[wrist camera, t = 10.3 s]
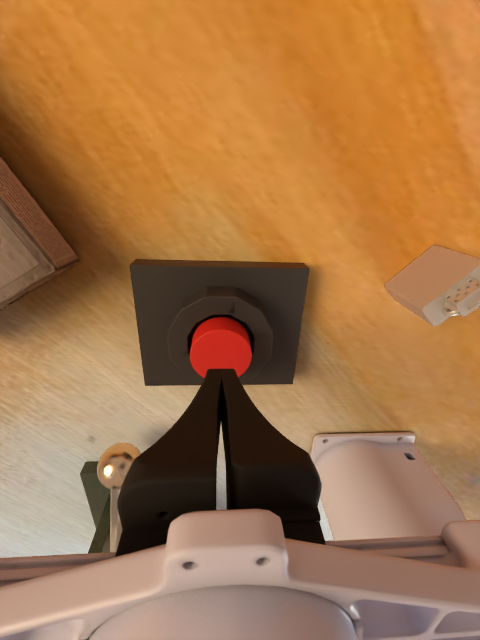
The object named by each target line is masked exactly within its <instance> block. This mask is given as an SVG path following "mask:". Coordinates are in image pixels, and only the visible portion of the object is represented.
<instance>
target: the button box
mask: <svg viewBox="0 0 480 640" xmlns="http://www.w3.org/2000/svg"><path fill="white" fill-rule="evenodd" d="M130 271H131V279H132V287H133V295H134V303H135V310H136V318H137V326H138V334H139V342H140V350H141V358H142V365H143V373H144V381H145V386H159V385H202V383H203V381H204V377H202V376H201V375H199V374H198V373H197V372H196V371H195V369H194V368H193V366H192V364H191V361H190V351H191V345H192V339H193V335H194V332H195V330H196V329H197V328H198V326H199V325H200V324H202V323H203V322H204V321H206V320H208V319H211V318H215V317H227V318H231V319H234V320H236V321H237V322H239V323H240V324H241V325H242V326H243V327H244V328H245V329H246V331H247V333H248V336H249V341H250V346H251V352H252V359H251V363H250V365H249V367H248V368H247V370H246V371H245V372H244V373H243V374H242V375H241V376H239V377H238V378H239V380H240V382H241V384H242V385H261V384H293V379H294V372H295V365H296V358H297V351H298V344H299V337H300V330H301V323H302V316H303V309H304V302H305V295H306V288H307V281H308V274H309V268H308V267H307V266H306V265H305V264H304V263H279V262H233V261H186V260H140V259H136V260H135V261H134V262H133V263H131V264H130Z"/></svg>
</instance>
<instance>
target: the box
mask: <svg viewBox="0 0 480 640" xmlns="http://www.w3.org/2000/svg"><path fill="white" fill-rule="evenodd" d="M78 262H79V259H78V258H77V255H76V254H75V253H74V251H73V250H72V248H71V247H70V246H69V245H68V243H67V242H66V241H65V239H63V237H62V235H61V234H60V233H59V231H58V229H56V227H55V226H53V224H52V222H51V221H50V220H49V218H48V217H47V216H46V214H45V213H44V212H43V211H42V210H41V208H40V207H39V205H38V203H36V200H35V199H34V198H33V197H31V195H30V194H29V192H28V191H27V189H26V188H25V187H24V186H23V185H22V183H21V182H20V181H19V180H18V178H17V177H16V176H15V175H14V174H13V172H11V170H10V168H9V167H8V165H7V163H6V162H4V161H3V159H2V158H1V157H0V311H1V309H3V308H5V307H6V306H7V305H9V304H12V303H13V302H15V301H17V300H19V299H20V298H21V297H23V296H24V295H25V294H27V293H28V292H30V291H31V290H34V289H35V288H36V287H39V286H41V285H43V284H44V283H46V282H47V281H48V280H50V279H52V278H54V277H55V276H57V275H58V274H59V273H62V272H63V271H65V270H66V269H68V268H70V267H72V266H73V265H75V264H76V263H78Z"/></svg>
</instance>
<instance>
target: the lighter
mask: <svg viewBox="0 0 480 640" xmlns="http://www.w3.org/2000/svg"><path fill="white" fill-rule="evenodd" d="M385 288H386V289H387V291H388V292H389V293H390V295H391V296H392V297H393V298H394V300H396V301H397V302H399V303H400V304H402V305H403V306H405V307H406V308H408V309H409V310H410V311H412V312H413V313H415V314H416V315H418V316H419V317H421V318H422V319H424V320H425V321H427V322H428V323H429V324H431V325H432V326H438V325H440V324H441V323H443V322H444V321H445V320H447V319H448V318H450V317H451V316H453V315H454V316H458V315H462V316H463V317H466V316H467V315H469V314H470V313H471V312H473V311H474V310H476V309H477V308H478V307H480V258H478V257H475V256H471V255H468V254H465V253H461V252H458V251H454V250H451V249H448V248H444V247H441V246H438V245H432V246H431V247H430V248H429V249H428V250H426V251H425V252H424V253H423V254H421V255H420V256H419V257H418V258H416V259H415V260H414V261H413V262H411V263H410V264H409V265H408V266H406V267H405V268H404V269H403V270H402V271H400V272H399V273H398V274H397V275H395V276H394V277H393V278H392V279H390V280H389V281H388V282H387V283H385Z"/></svg>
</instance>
